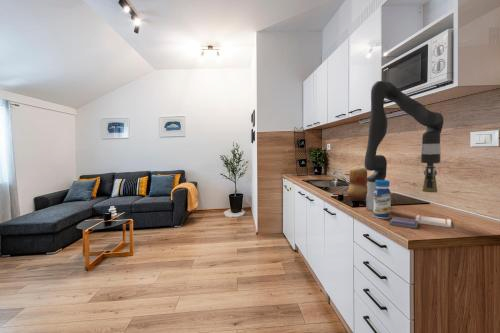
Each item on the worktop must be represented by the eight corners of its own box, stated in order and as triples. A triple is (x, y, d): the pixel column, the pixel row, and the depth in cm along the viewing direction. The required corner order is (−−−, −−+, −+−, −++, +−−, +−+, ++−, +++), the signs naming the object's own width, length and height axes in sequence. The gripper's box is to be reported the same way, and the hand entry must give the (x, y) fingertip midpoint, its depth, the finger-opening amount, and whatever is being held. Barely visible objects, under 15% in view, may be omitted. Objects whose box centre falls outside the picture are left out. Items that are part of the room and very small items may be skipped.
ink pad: (389, 224, 117) (389, 220, 117) (392, 219, 125) (392, 216, 125) (416, 228, 110) (416, 224, 110) (418, 223, 118) (418, 219, 118)
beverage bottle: (389, 215, 133) (389, 179, 132) (392, 219, 125) (392, 181, 124) (372, 214, 136) (372, 179, 135) (373, 218, 128) (374, 181, 127)
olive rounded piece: (420, 191, 119) (421, 169, 118) (423, 190, 123) (424, 168, 122) (436, 192, 114) (436, 169, 114) (438, 191, 118) (439, 169, 118)
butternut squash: (349, 203, 165) (349, 167, 164) (345, 199, 178) (346, 165, 177) (371, 203, 162) (371, 167, 161) (366, 199, 175) (366, 165, 174)
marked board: (414, 222, 120) (414, 220, 120) (416, 217, 129) (416, 215, 129) (451, 227, 111) (451, 225, 111) (450, 221, 120) (450, 219, 120)
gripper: (422, 153, 125) (422, 185, 126) (419, 153, 114) (419, 189, 116) (441, 152, 121) (440, 186, 122) (439, 153, 110) (438, 190, 111)
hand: (429, 187), depth 119 cm, fingers closed on olive rounded piece, 4 cm apart
